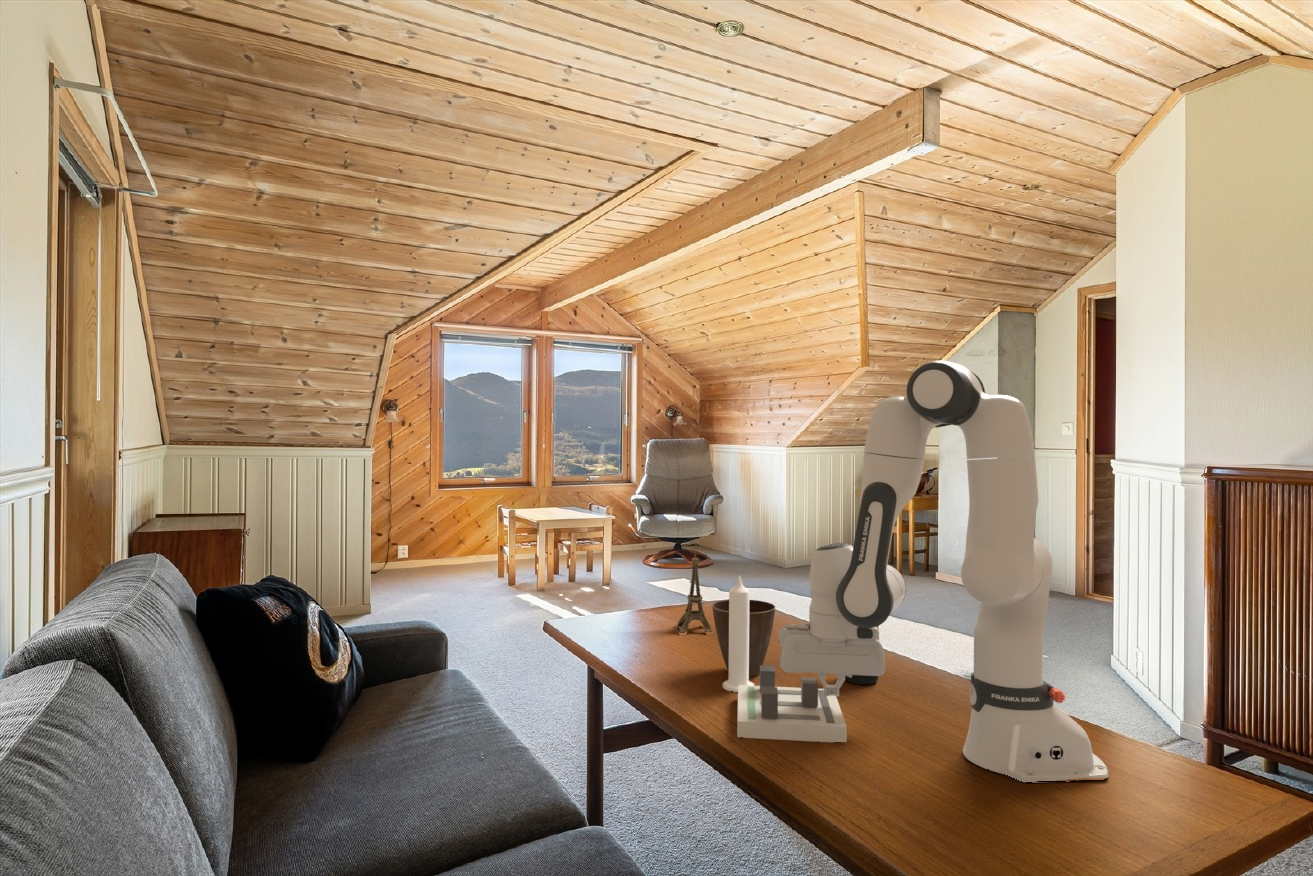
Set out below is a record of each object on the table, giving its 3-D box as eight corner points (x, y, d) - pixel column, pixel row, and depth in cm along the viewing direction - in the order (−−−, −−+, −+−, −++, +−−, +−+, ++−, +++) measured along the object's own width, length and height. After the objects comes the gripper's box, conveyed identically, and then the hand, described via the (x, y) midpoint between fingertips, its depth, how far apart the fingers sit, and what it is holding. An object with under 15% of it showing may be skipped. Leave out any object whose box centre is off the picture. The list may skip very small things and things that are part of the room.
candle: (753, 694, 167) (754, 579, 167) (720, 691, 169) (721, 578, 168) (755, 683, 174) (756, 574, 174) (724, 681, 176) (725, 572, 175)
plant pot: (704, 678, 178) (705, 609, 177) (720, 660, 192) (720, 597, 192) (768, 686, 173) (769, 615, 173) (779, 667, 187) (780, 601, 187)
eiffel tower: (710, 625, 227) (711, 541, 227) (715, 635, 217) (716, 547, 216) (674, 626, 226) (675, 541, 226) (678, 635, 216) (678, 547, 216)
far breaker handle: (774, 686, 162) (774, 665, 162) (774, 692, 158) (775, 671, 158) (759, 685, 162) (759, 665, 162) (760, 692, 158) (760, 670, 158)
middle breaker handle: (816, 699, 154) (816, 677, 154) (817, 706, 150) (818, 684, 150) (800, 699, 154) (801, 677, 154) (802, 706, 150) (802, 683, 150)
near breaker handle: (776, 710, 148) (777, 687, 148) (777, 717, 144) (777, 694, 144) (761, 709, 148) (761, 686, 148) (761, 717, 144) (761, 693, 144)
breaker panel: (833, 703, 162) (833, 688, 162) (846, 743, 141) (846, 725, 141) (738, 699, 164) (738, 684, 164) (737, 737, 143) (737, 720, 143)
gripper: (779, 627, 149) (778, 698, 149) (887, 631, 147) (886, 703, 147) (778, 619, 156) (777, 687, 156) (881, 623, 153) (880, 692, 153)
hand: (831, 695), depth 151 cm, fingers closed
